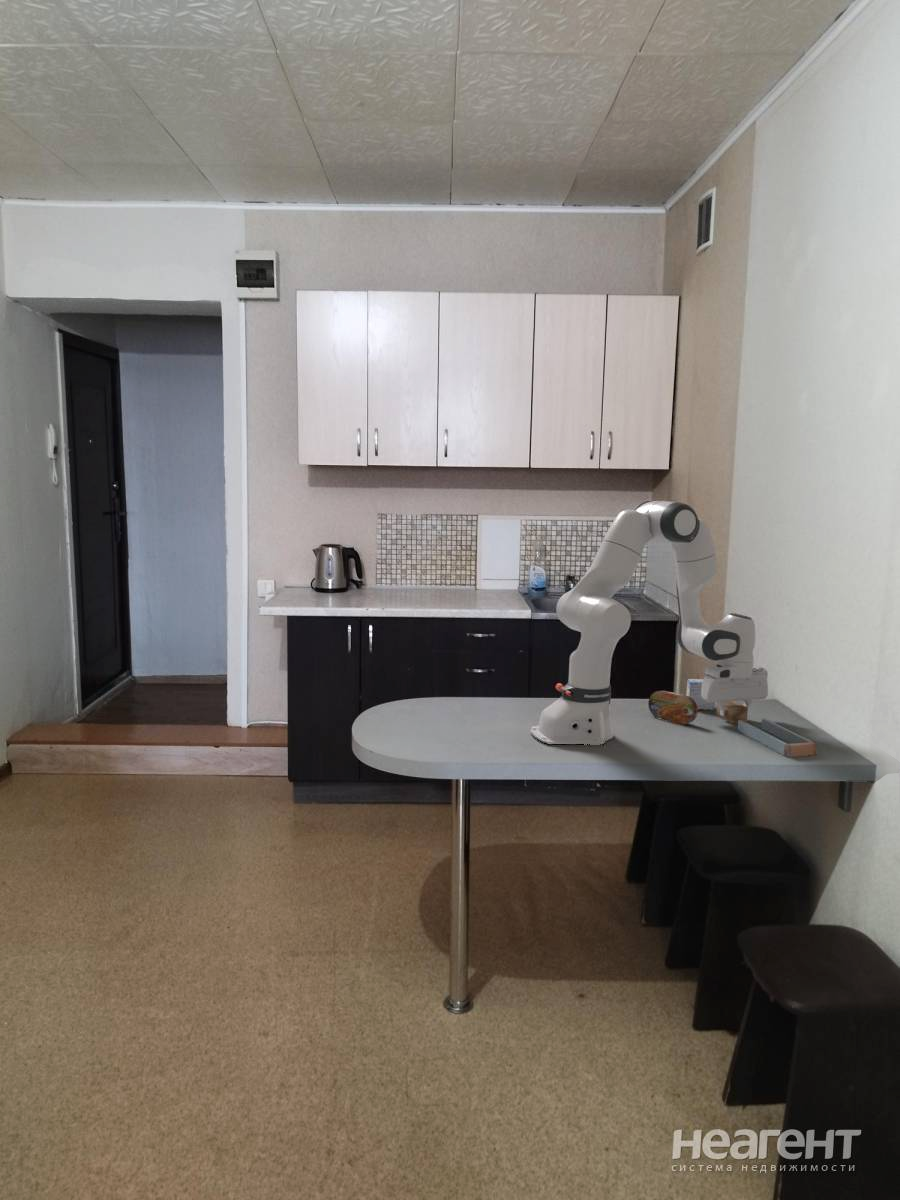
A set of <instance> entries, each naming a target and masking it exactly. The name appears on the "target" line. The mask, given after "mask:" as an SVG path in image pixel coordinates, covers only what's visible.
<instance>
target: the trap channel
mask: <svg viewBox="0 0 900 1200" xmlns="http://www.w3.org/2000/svg"><path fill="white" fill-rule="evenodd" d="M760 724H761V726H760V727H761V729H760V728H758V727H756V726H754V725H752V724H750V723H748V722H747V723H746V722H744V721H742V720H738V723H737V731H738V732H740V733H741V734H743V735H745V736H747V737H749V738H751V739H753V740H754V739H755V740H754V741H756V740H757V742H758V741H759V742H758V743H760V744H762V745H764V746H765V745H767V746H768V748H769V747H770V748H769V749H771V748H772V749H771V750H773V749H774V750H773V751H775V752H777V753H778V752H779V754H780V753H781V755H782V754H783V756H784V757H786V758H795V757H809V756H808V755H810V756H817V750H818V749H817V748H818V743H816V742H815V741H812V740H811V739H809V738H806V737H804V736H802V735H800V734H798V733H795V732H794V731H792V730H790V729H787V728H785V727H783V726H782V725H779V724H777V723H776V722H773V721H772V720H769V719H768V718H761V723H760ZM764 730H765V731H764ZM766 731H767V732H766ZM768 732H769V733H768ZM770 733H771V734H770ZM772 734H773V735H772ZM774 735H775V736H774ZM776 736H777V737H776ZM778 737H779V738H778ZM780 738H781V739H780ZM782 739H783V740H782ZM784 740H785V741H784ZM786 741H787V742H786ZM767 746H766V747H767Z"/></svg>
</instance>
